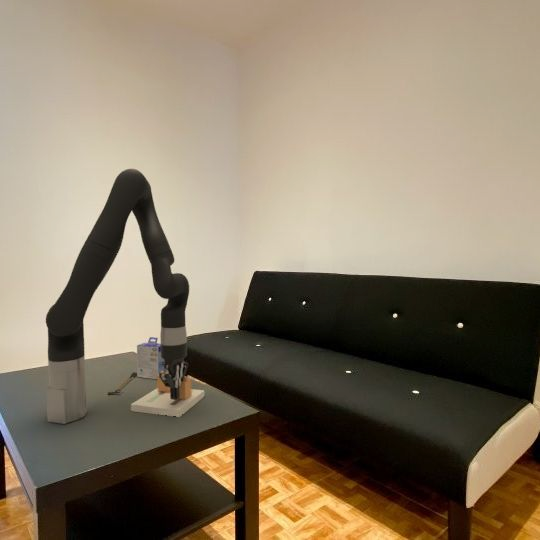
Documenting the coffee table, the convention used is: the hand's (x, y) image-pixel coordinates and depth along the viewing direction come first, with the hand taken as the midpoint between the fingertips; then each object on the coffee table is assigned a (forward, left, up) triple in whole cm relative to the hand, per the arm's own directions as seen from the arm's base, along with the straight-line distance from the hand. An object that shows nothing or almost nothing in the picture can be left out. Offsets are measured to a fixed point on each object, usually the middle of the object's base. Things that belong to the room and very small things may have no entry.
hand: (175, 398), depth 116 cm
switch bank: (+3, +4, -3) cm, 6 cm away
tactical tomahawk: (+15, +27, -4) cm, 32 cm away
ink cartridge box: (+25, +24, -4) cm, 35 cm away
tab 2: (+5, 0, -1) cm, 5 cm away
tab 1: (+9, +8, -1) cm, 12 cm away
